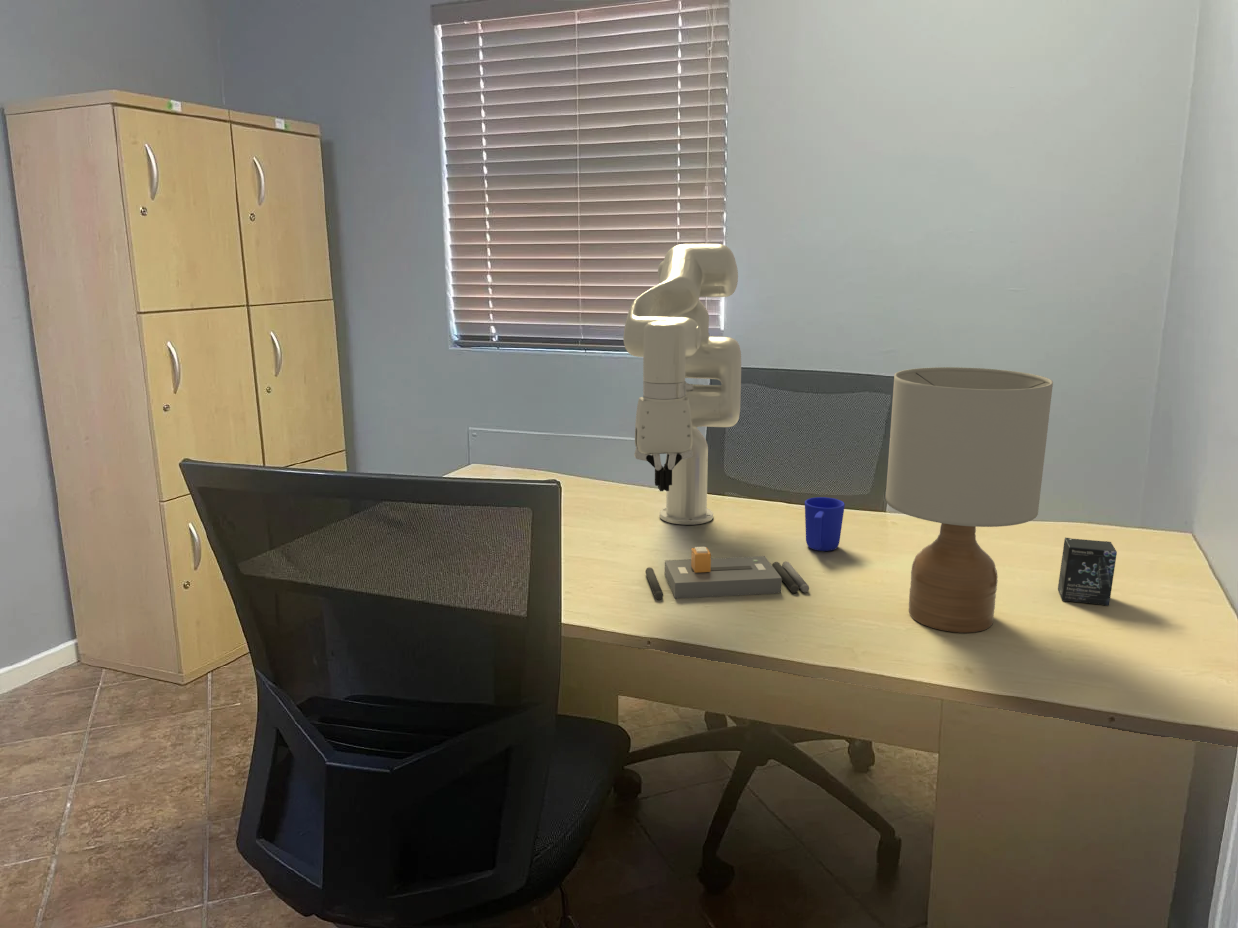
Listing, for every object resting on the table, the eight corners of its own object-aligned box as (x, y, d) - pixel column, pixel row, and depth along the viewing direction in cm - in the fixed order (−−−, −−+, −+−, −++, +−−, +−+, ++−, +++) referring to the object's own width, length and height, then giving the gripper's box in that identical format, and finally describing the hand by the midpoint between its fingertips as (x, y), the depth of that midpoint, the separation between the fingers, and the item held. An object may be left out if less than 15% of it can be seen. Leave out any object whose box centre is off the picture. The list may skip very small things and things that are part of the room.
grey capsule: (771, 568, 180) (771, 560, 180) (779, 567, 180) (779, 560, 180) (791, 594, 167) (791, 586, 167) (799, 593, 167) (800, 585, 167)
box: (1061, 601, 163) (1068, 546, 161) (1057, 590, 169) (1063, 536, 166) (1110, 606, 161) (1117, 550, 158) (1103, 595, 166) (1111, 540, 164)
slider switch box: (664, 574, 177) (664, 559, 176) (763, 570, 179) (764, 555, 178) (675, 598, 166) (675, 582, 165) (781, 593, 168) (781, 577, 167)
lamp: (863, 590, 169) (878, 367, 159) (993, 591, 168) (1016, 367, 158) (898, 646, 146) (918, 389, 135) (1049, 648, 145) (1080, 390, 135)
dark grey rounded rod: (644, 574, 177) (644, 566, 177) (652, 573, 178) (652, 566, 177) (655, 600, 164) (655, 592, 164) (663, 600, 165) (663, 592, 164)
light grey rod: (780, 567, 180) (781, 560, 180) (788, 567, 181) (789, 560, 180) (801, 593, 167) (802, 585, 167) (810, 593, 167) (810, 585, 167)
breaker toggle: (691, 565, 173) (691, 546, 172) (706, 565, 173) (707, 545, 172) (694, 572, 169) (695, 552, 168) (710, 571, 170) (710, 551, 169)
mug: (795, 557, 187) (797, 510, 184) (806, 539, 197) (808, 495, 195) (835, 562, 184) (838, 515, 181) (844, 543, 194) (847, 499, 192)
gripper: (700, 386, 166) (698, 482, 171) (620, 388, 165) (620, 485, 169) (709, 393, 159) (707, 493, 164) (625, 395, 157) (625, 496, 162)
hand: (663, 489), depth 166 cm, fingers closed
